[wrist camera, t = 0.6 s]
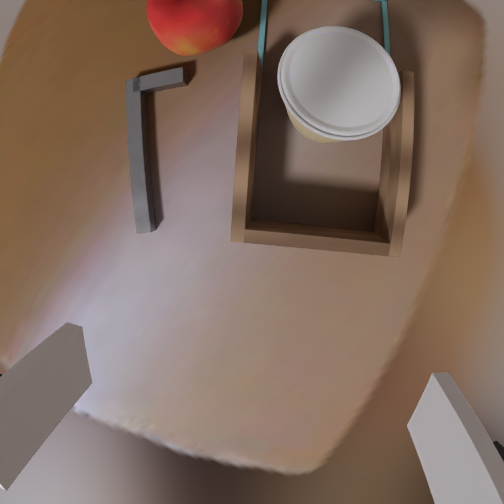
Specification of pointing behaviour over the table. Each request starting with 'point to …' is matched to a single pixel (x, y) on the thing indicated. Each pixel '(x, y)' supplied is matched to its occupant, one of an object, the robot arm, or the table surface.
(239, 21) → the apple
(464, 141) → the table surface
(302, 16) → the table surface
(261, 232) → the cubby
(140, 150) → the crook tool
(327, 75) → the coffee cup
